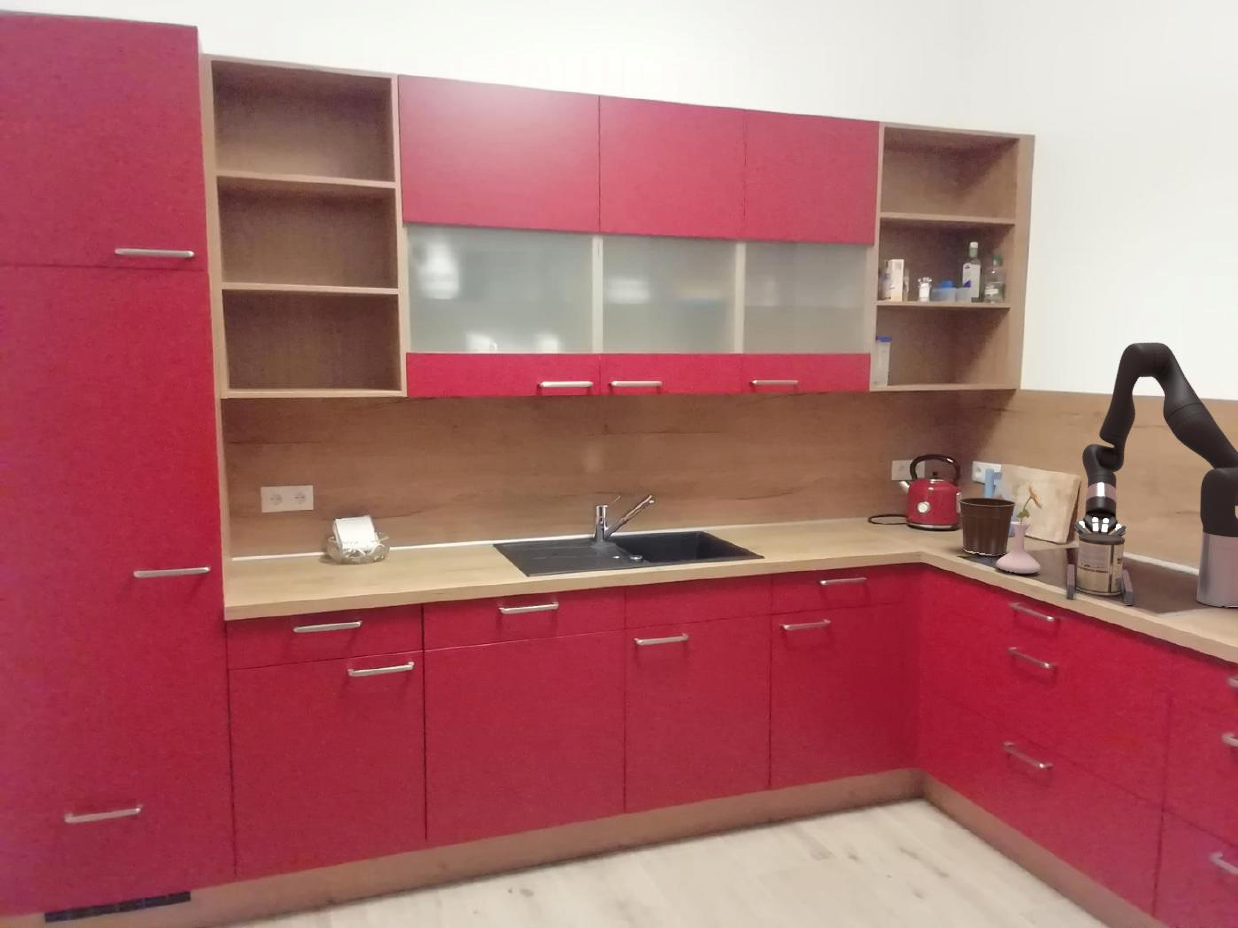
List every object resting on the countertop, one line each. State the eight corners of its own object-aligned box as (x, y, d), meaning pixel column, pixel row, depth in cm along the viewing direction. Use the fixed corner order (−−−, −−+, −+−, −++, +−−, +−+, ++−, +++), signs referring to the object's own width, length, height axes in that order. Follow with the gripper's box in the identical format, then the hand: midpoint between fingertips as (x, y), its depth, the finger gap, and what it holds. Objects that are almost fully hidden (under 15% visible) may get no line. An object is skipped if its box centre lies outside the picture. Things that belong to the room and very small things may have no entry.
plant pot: (975, 559, 257) (978, 505, 255) (945, 548, 273) (948, 497, 271) (1024, 557, 260) (1027, 504, 258) (991, 546, 276) (994, 496, 274)
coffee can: (1076, 583, 229) (1079, 531, 227) (1121, 589, 224) (1125, 535, 222) (1073, 592, 220) (1077, 537, 218) (1120, 597, 215) (1124, 542, 213)
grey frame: (1126, 582, 230) (1127, 570, 230) (1132, 606, 207) (1133, 592, 207) (1067, 576, 237) (1068, 564, 236) (1066, 598, 214) (1067, 584, 213)
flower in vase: (1026, 578, 234) (1032, 487, 231) (987, 570, 243) (992, 482, 240) (1051, 572, 241) (1057, 483, 238) (1012, 564, 250) (1017, 479, 248)
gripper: (1074, 493, 241) (1071, 543, 232) (1129, 496, 235) (1128, 549, 226) (1073, 509, 246) (1070, 559, 237) (1127, 513, 240) (1125, 565, 231)
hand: (1098, 554), depth 231 cm, fingers closed
